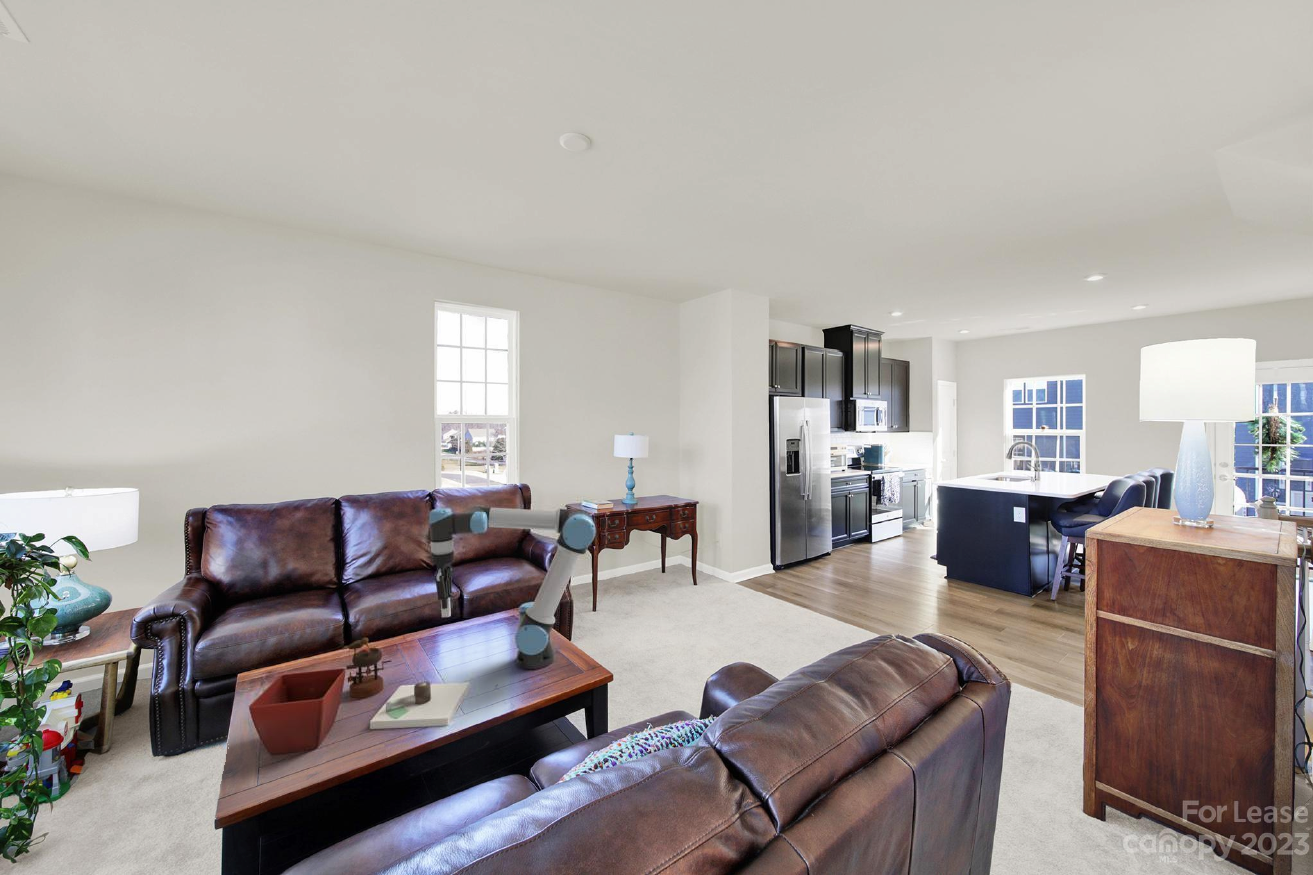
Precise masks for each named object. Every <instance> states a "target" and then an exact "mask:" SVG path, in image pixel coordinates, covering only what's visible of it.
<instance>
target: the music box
mask: <svg viewBox="0 0 1313 875" xmlns="http://www.w3.org/2000/svg"><path fill="white" fill-rule="evenodd" d="M364 646H367V647H366V648H364V649H361V648H363V647H364ZM346 649H348V656H349V658H348V659H349V660H351V655H350V652H351V650H354V652H353V656H352V661H351V662H352V664H349V665H346V666H345V667H346V668H345V669H346V671H347V670H349V676H348V677H347V683H350V685H349V697H350V698H352V699H353V700H364V699H368V698H372V697H374V696H376V695H378V694H380V693H381V692H382V691H383V689H384V678H383V677H382V676H381V675H378V672H380V671H381V670H382V671H383V670H384V668H385V667H384V664H387V663H391V662H392V660H391V659H390V660H385V661H381V659H382V658H383V652H382V650H381V649H380V648H377V647H369V638H368V637H363V638H361V639H358V640H356V641H354V642H352V643H351V644H349V645H344V646H343V647H342V650H346ZM358 649H361V650H359V651H357V650H358ZM380 661H381V664H382V665H381V667H380V668H379V667H378V663H379V662H380ZM372 666H373V669H371V667H372ZM362 668H366V669H365V671H362ZM354 669H358V670H356V671H355V675H354V676H353V675H352V672H351V671H350V670H354ZM372 672H374V674H372ZM364 674H366V675H364Z"/></svg>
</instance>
